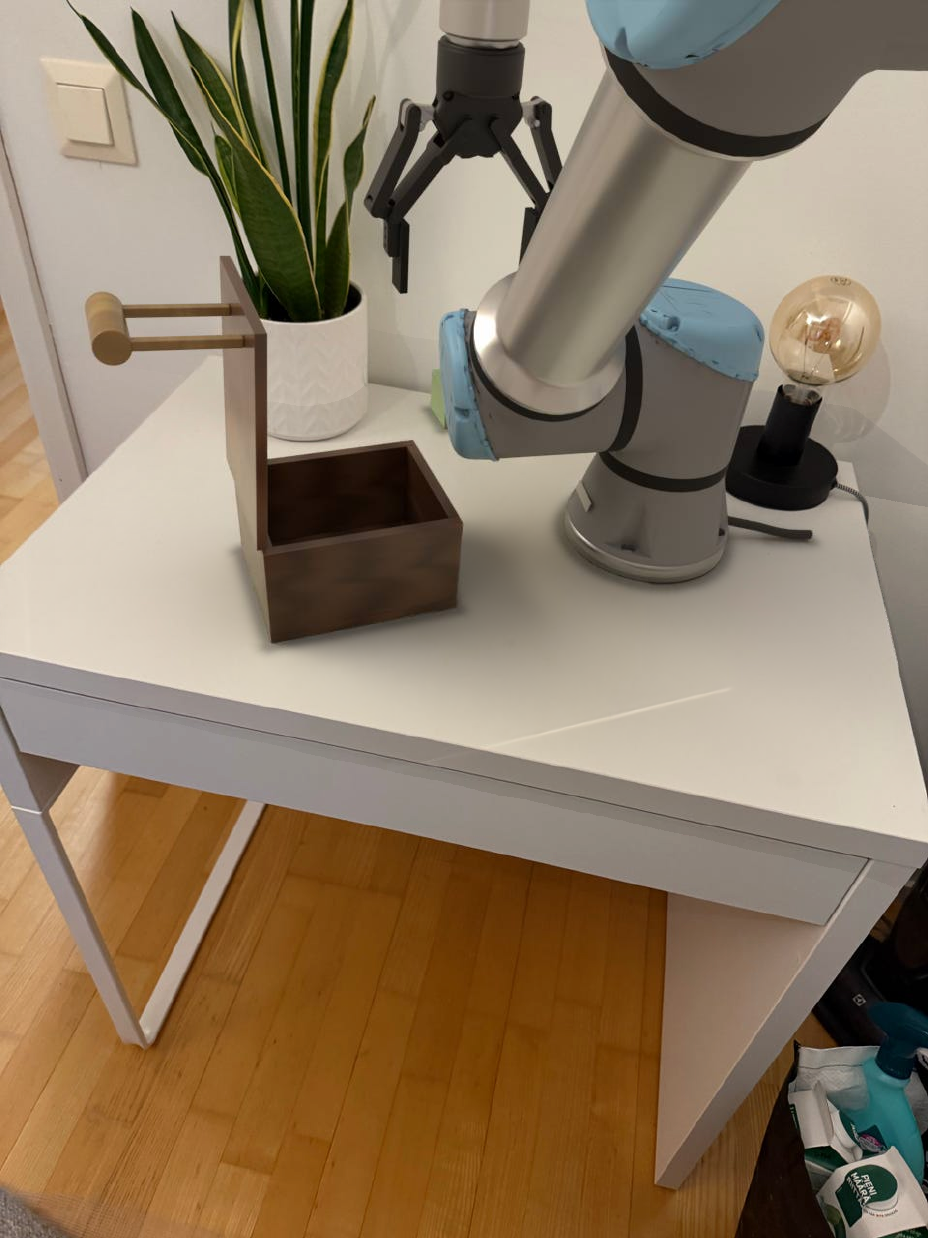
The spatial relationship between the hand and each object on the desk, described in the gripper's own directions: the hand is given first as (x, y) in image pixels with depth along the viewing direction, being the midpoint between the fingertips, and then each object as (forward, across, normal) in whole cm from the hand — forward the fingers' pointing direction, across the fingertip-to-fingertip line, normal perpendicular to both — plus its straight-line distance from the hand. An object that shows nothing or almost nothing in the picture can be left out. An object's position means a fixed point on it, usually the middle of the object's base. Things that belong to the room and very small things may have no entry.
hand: (464, 282), depth 93 cm
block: (+15, 0, 0) cm, 15 cm away
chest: (+15, +19, +24) cm, 34 cm away
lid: (-3, +26, +24) cm, 35 cm away
